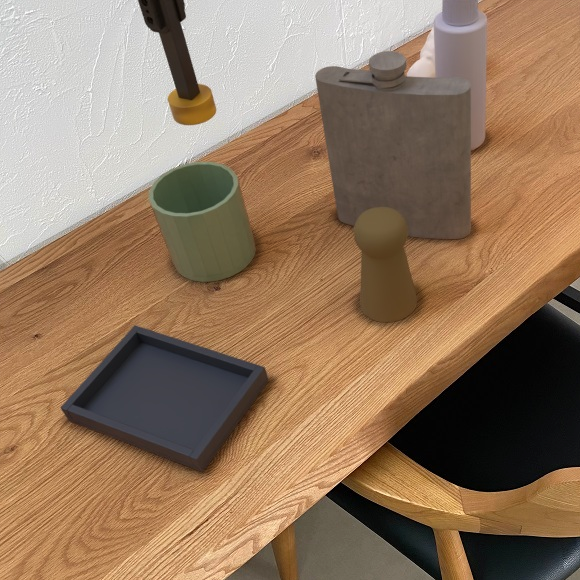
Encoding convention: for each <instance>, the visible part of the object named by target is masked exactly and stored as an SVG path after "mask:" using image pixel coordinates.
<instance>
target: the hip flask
mask: <svg viewBox="0 0 580 580" xmlns="http://www.w3.org/2000/svg"><path fill="white" fill-rule="evenodd" d="M407 66H408V65H407V56H406V55H404V54H403V53H402V52H399V51H395V50H386V51H379V52H377V53H375V54H373V55H371V57H370V58H369V59H368V68H369V69H368V70H367V69H355V68H346V67H343V66H338V65H329V66H325V67H322V68H320V69H319V70H318V71H316V73H315V75H314V77H315V83H316V89H317V90H316V91H317V96H318V102H319V108H320V114H321V121H322V127H323V133H324V140H325V145H326V152H327V157H328V163H329V164H328V165H329V170H330V176H331V177H330V178H331V182H332V188H333V189H332V190H333V195H334V200H335V207H336V213H337V219H338V220H339V221H340V222H341V223H343V224H346V225H349V226H351V227H354V226H355V223H356V221H357V219H358V217H359V216H360V215H361V214H362V213H363V212H365V211H367V210H369V209H372V208H376V207H388V208H392V209H395V210H396V211H398V212H399V213H400V214H401V215H402V216H403V217H404V219H405V221H406V223H407V228H408V236H407V237H411V238H421V239H436V240H461V239H464V238H466V237H468V236H469V235H470V234H471V232H472V150H471V84H470V82H469V81H467V80H466V79H463V78H458V77H450V78H432V77H409V76H407V75H406V74H405V71H406V69H407Z"/></svg>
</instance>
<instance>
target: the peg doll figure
mask: <svg viewBox="0 0 580 580" xmlns="http://www.w3.org/2000/svg"><path fill="white" fill-rule="evenodd" d="M353 234H354V235H353V237H354V242H355V244H356V245H357V247H358V249H359V250H360V251H361V253H360V254H361V256H360V257H361V258H360V288H359V289H360V290H359V291H360V292H359V294H360V295H359V304H360V310H361V311H362V313H363V314H364V316H366V317H367V318H369V319H370V320H373V321H376V322H379V323H393V322H394V323H395V322H398V321H401V320H403V319H406V318H407V317H408V316H410V315H411V314H412V313H413V312H414V310H415V309H416V308H417V305H418V298H417V292H416V288H415V284H414V281H413V277H412V273H411V270H410V265H409V261H408V257H407V253H406V249H405V245H406V244H407V240H408V237H409V236H408V228H407V223H406V221H405V219H404V217H403V216H402V215H401V214H400V213H399V212H398V211H396V210H395V209H392V208H388V207H376V208H372V209H369V210H367V211H365V212H363V213H362V214H361V215H360V216H359V217H358V219H357V221H356V223H355V226H353Z"/></svg>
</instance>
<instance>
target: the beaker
mask: <svg viewBox="0 0 580 580" xmlns="http://www.w3.org/2000/svg"><path fill="white" fill-rule="evenodd" d="M148 202H149V205H150V207H151V209H152V210H151V211H152V213H153V215H154V217H155V220H156V223H157V226H158V228H159V231H160V234H161V237H162V238H163V241H164V244H165V246H166V249H167V251H168V255H169V257H170V260H171V262H172V264H173V267H174V269H175V270H176V272H177V273H178V274H179V275H180V276H182V277H184V278H186V279H188V280H190V281H195V282H198V283H199V282H201V283H209V282H210V283H211V282H212V283H213V282H218V281H222V280H226V279H229V278H231V277H234V276H235V275H237V274H239V273H240V272H241V271H244V270H245V269H246V268H247V267H248V266H249V265H250V263H251V262H252V261H253V259H254V257H255V256H256V255H255V254H256V251H257V250H256V248H257V246H256V242H255V237H254V232H253V229H252V226H251V221H250V218H249V213H248V210H247V206H246V204H245V199H244V196H243V191H242V189H241V184H240V181H239V177H238V175H237V174H236V172H235V171H234V170H233V169H232V167H229V166H228V165H225V164H224V163H219V162H216V161H195V162H189V163H184V164H181V165H178V166H176V167H173V168H171V169H169V170H167V171H166V172H164V173H163V174H161V175H160V176H158V177H157V179H156V180H155V181H153V183H152V184H151V187H150V189H149V190H148Z"/></svg>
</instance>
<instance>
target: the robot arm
mask: <svg viewBox="0 0 580 580" xmlns="http://www.w3.org/2000/svg"><path fill="white" fill-rule="evenodd" d="M174 1H175V5H176V8H177V12H178V15H179V19H180V22H181V23H182V22H183V21H184V20H186V18H187V14H186V4H185V0H174ZM137 2H138V5H139V9H140V11H141V14H142V17H143V21H144V24H145V25H146V27H147V28H148V29H149V30H150V31H152V32H153V33H158V34H159V33H163V34H167V33H168V32H170V31H171V30H172V23H171V20H170V16H169V13H168V9H167V6H166V2H165V0H137Z"/></svg>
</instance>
